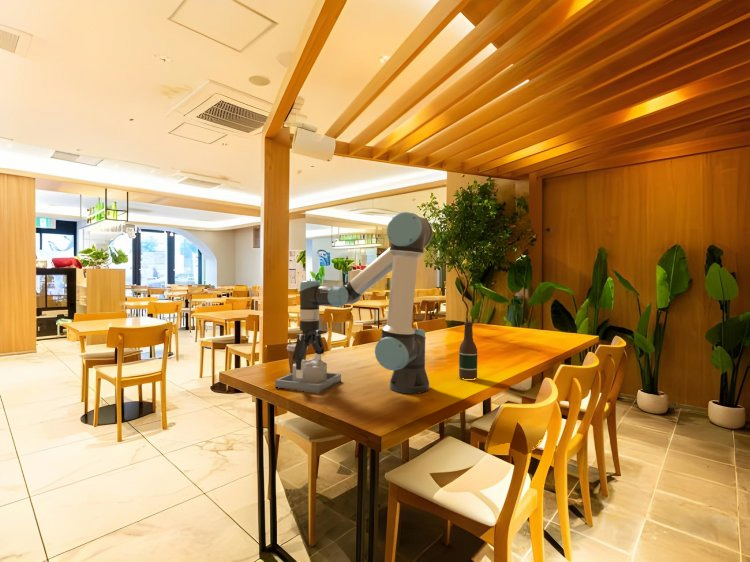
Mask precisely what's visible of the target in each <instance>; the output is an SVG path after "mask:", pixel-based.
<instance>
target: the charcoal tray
mask: <svg viewBox="0 0 750 562" xmlns="http://www.w3.org/2000/svg"><path fill="white" fill-rule="evenodd" d="M340 382H342V374H341V373H336V372H334V373H333V372H327V380H326V381H324V382H322V383H320V384H310V383H302V382H294V381H293V373H292V372H290V374H288V375H285V376H282V377H279V378H276V379H275V381H274V388H275V387H279V388H285V389H284V390H287V389H291V390H290V391H294V390H297V392H302V391H304V392H303V393H311V394H321V393H323V392H325V391H326V390H329V389H330V388H332V387H333V386H335V385H337V384H339V383H340ZM279 388H278V389H279Z"/></svg>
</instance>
